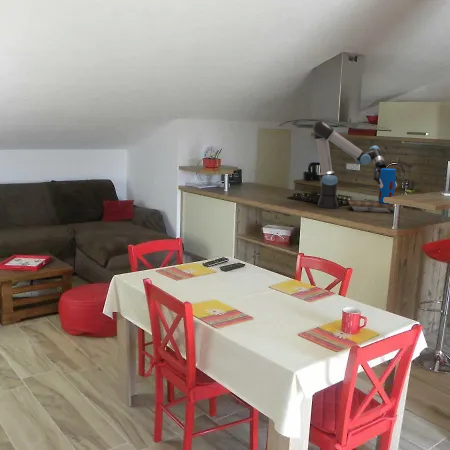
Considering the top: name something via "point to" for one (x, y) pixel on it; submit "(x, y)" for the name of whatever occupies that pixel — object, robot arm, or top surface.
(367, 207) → the tribrach base
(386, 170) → the blue tall block
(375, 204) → the levelling board
